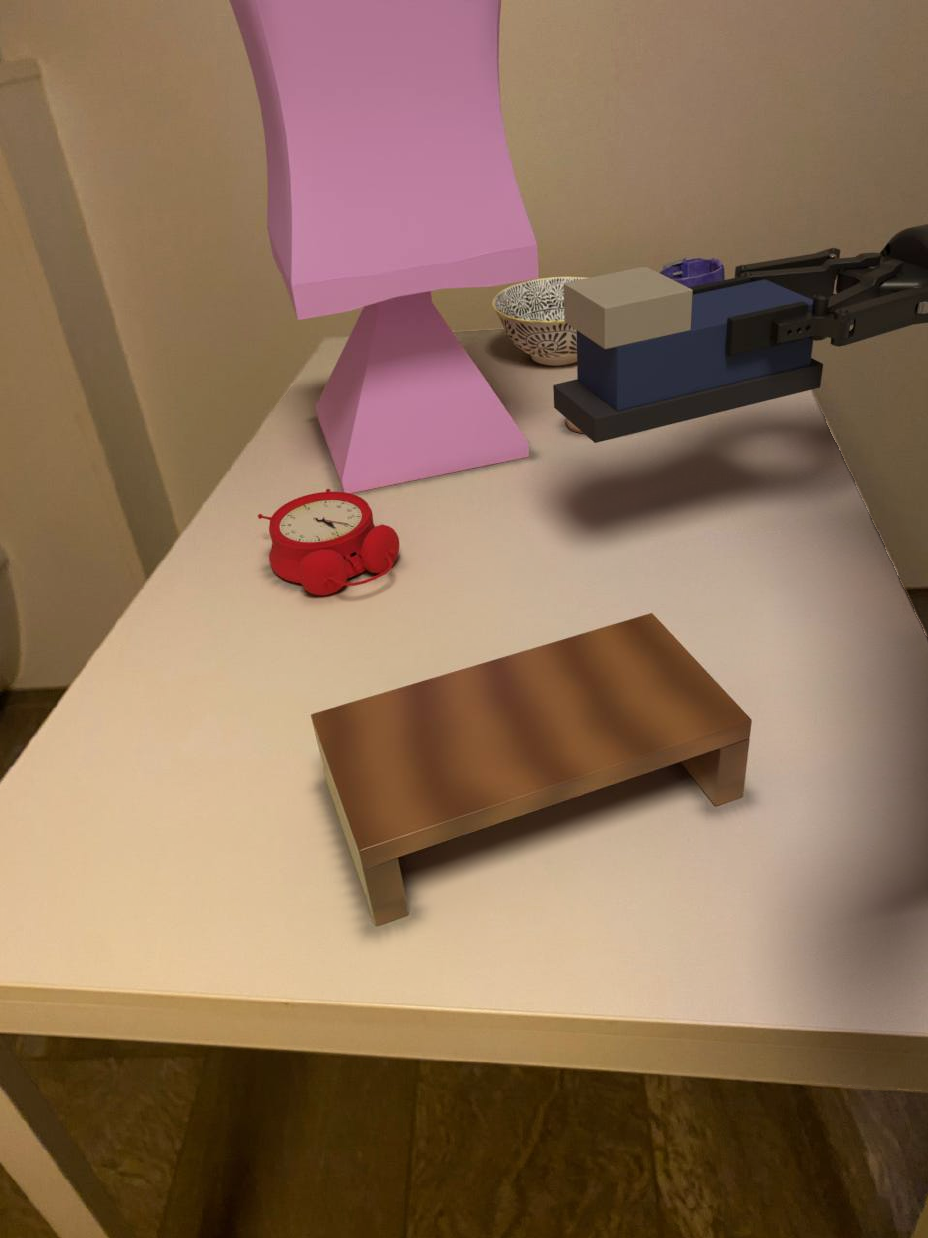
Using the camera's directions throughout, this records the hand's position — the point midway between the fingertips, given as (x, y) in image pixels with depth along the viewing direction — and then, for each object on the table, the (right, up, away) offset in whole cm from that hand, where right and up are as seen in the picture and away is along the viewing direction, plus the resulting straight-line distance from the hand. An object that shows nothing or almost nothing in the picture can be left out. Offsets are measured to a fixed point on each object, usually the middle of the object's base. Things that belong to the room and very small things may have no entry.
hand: (701, 322), depth 75 cm
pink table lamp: (-24, -3, +32) cm, 40 cm away
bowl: (-6, +10, +47) cm, 49 cm away
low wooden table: (-14, -34, -13) cm, 39 cm away
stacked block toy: (0, -5, +3) cm, 6 cm away
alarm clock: (-30, -18, +12) cm, 37 cm away
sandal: (+2, 0, +32) cm, 32 cm away
